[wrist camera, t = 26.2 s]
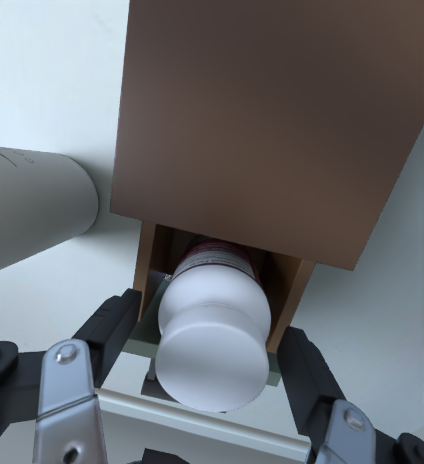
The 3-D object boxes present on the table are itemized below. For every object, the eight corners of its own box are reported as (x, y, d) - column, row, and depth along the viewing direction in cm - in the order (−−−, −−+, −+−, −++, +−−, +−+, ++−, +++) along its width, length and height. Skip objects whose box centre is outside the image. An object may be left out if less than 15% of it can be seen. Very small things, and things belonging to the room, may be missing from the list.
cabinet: (292, 225, 20) (353, 271, 10) (162, 193, 19) (108, 212, 10) (358, 42, 16) (555, -146, 6) (195, -1, 15) (153, -262, 6)
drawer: (242, 355, 23) (252, 442, 16) (143, 332, 23) (104, 409, 15) (304, 182, 18) (364, 190, 10) (174, 150, 17) (138, 134, 10)
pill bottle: (236, 299, 20) (252, 443, 9) (175, 278, 20) (120, 403, 9) (262, 241, 18) (317, 338, 8) (195, 218, 18) (157, 285, 7)
